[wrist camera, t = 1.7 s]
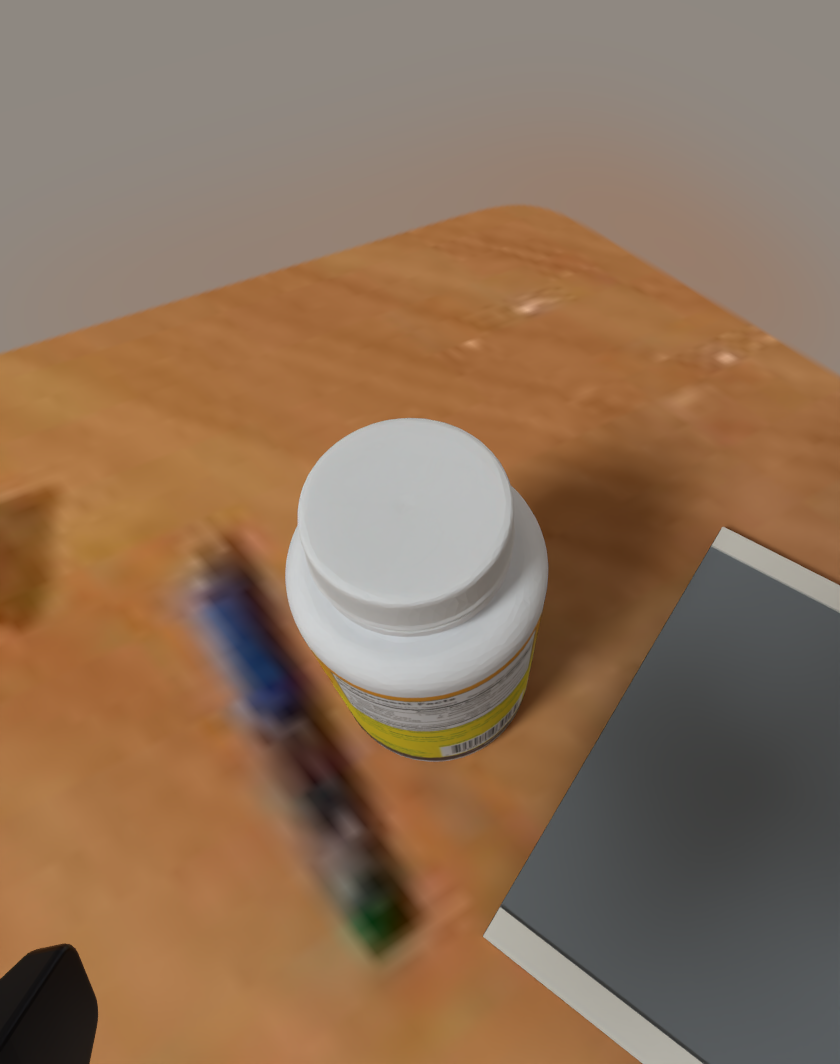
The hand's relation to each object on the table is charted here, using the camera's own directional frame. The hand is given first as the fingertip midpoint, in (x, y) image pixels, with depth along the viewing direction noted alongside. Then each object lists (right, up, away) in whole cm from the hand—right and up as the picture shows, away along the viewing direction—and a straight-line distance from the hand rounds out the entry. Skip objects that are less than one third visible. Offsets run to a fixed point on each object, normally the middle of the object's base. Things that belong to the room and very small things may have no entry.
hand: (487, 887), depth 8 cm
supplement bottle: (0, -1, +14) cm, 14 cm away
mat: (+11, -5, +11) cm, 16 cm away
